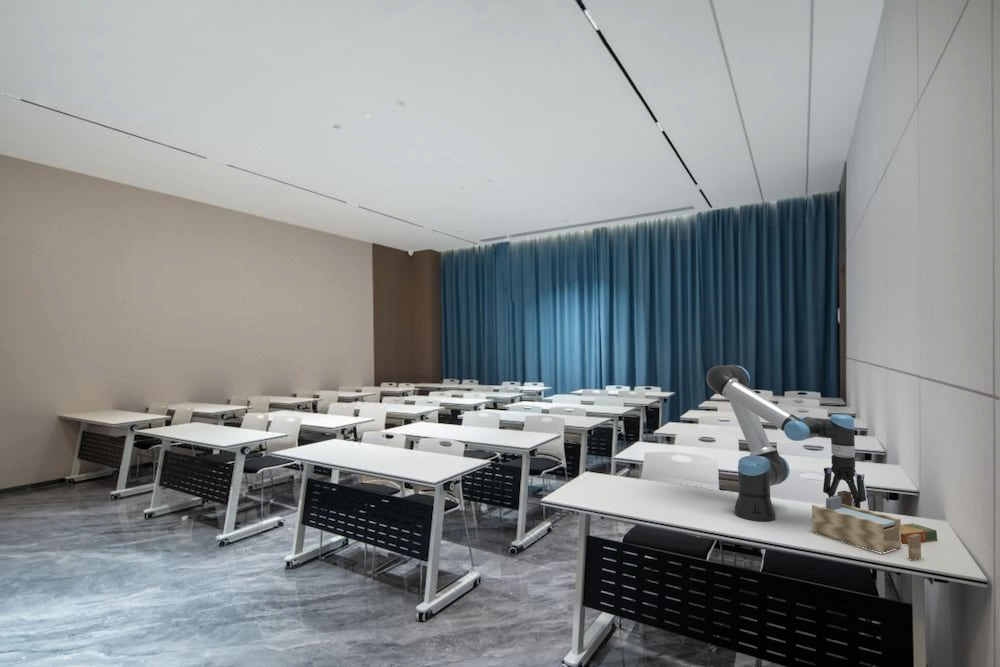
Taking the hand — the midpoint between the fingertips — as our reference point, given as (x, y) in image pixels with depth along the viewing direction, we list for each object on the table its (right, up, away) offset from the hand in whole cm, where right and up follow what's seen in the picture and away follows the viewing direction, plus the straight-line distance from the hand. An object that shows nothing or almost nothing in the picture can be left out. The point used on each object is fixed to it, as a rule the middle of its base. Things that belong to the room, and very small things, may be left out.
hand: (844, 515), depth 192 cm
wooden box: (-3, -4, -16) cm, 17 cm away
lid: (-5, +4, -13) cm, 14 cm away
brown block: (0, -5, 0) cm, 5 cm away
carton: (+16, -5, -11) cm, 20 cm away
